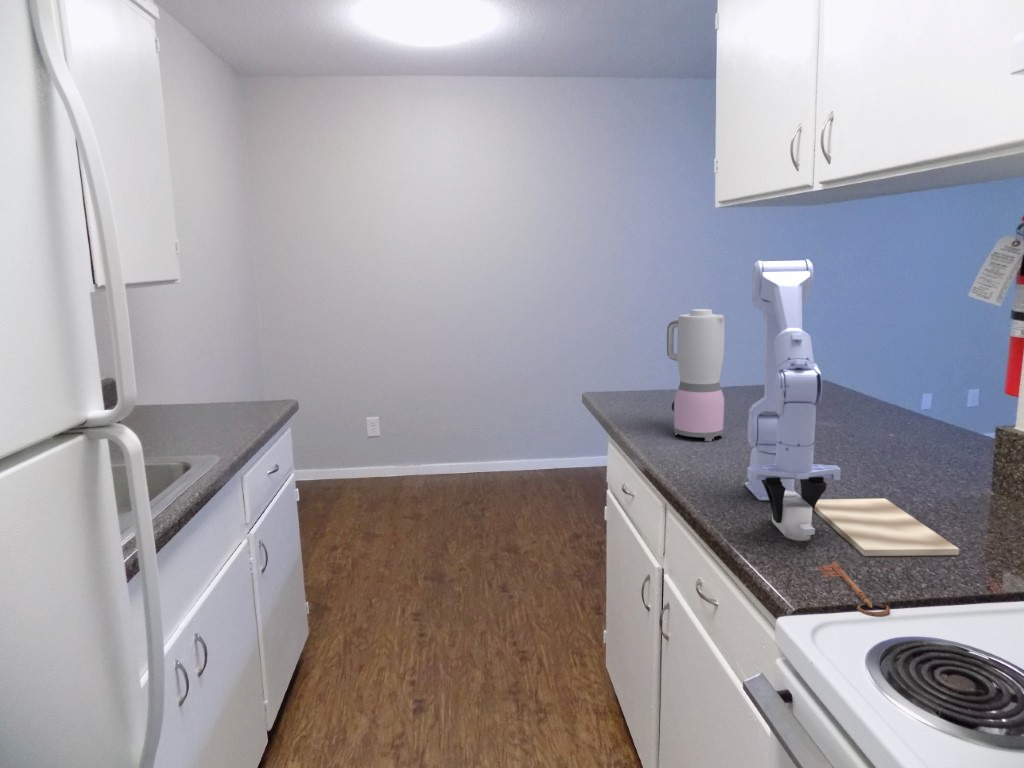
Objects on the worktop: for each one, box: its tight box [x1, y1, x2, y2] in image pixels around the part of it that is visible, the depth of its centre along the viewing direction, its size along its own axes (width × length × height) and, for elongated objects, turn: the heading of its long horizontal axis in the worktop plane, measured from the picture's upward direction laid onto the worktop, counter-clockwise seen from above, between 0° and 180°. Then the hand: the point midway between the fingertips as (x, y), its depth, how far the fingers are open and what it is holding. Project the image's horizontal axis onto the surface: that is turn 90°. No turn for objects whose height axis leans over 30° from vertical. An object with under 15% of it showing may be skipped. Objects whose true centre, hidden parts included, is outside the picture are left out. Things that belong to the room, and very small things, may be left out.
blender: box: [666, 308, 726, 440], centre depth 173 cm, size 16×12×32 cm
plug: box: [771, 490, 816, 542], centre depth 114 cm, size 12×4×5 cm, turn 178°
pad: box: [813, 497, 960, 557], centre depth 115 cm, size 22×14×1 cm, turn 178°
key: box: [817, 561, 891, 617], centre depth 95 cm, size 6×1×15 cm
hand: (791, 520), depth 115 cm, fingers closed on plug, 4 cm apart
